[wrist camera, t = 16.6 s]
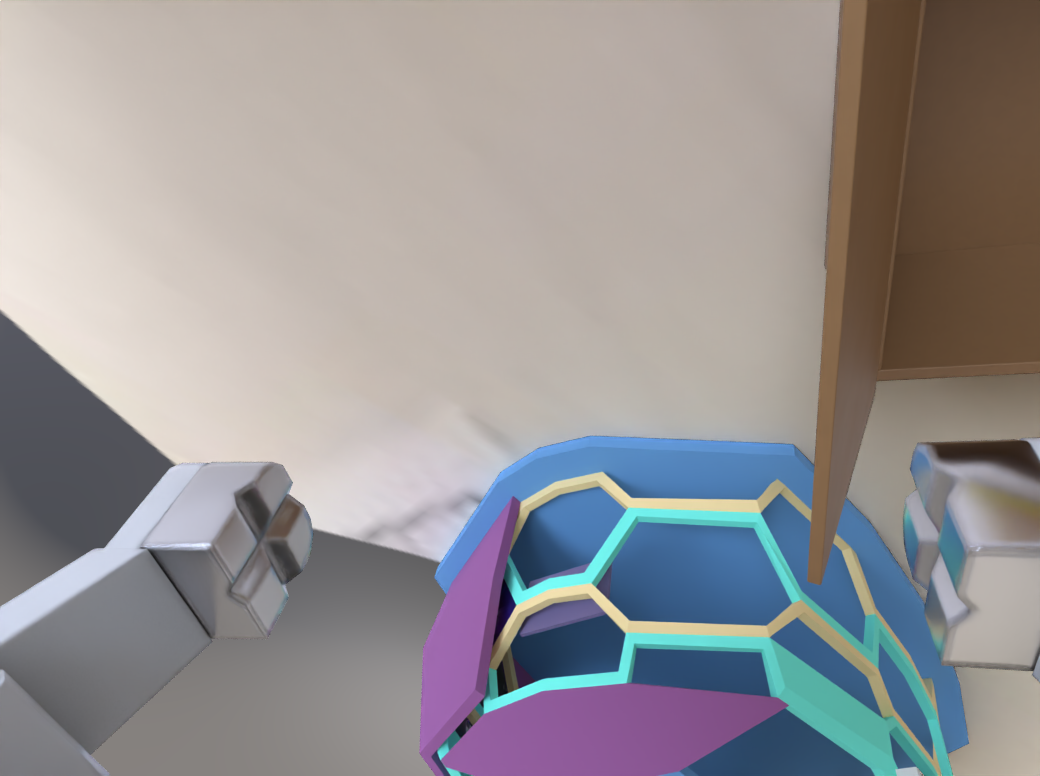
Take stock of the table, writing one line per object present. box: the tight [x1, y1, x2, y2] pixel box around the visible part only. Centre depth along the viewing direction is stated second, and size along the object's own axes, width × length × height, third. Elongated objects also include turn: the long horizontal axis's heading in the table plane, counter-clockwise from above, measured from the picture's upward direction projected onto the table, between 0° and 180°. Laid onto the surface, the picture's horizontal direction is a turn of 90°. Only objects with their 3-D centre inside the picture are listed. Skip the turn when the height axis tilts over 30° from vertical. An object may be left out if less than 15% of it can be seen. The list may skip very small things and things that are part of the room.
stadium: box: [420, 436, 969, 776], centre depth 37 cm, size 35×24×14 cm
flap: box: [807, 0, 922, 585], centre depth 14 cm, size 7×15×1 cm
